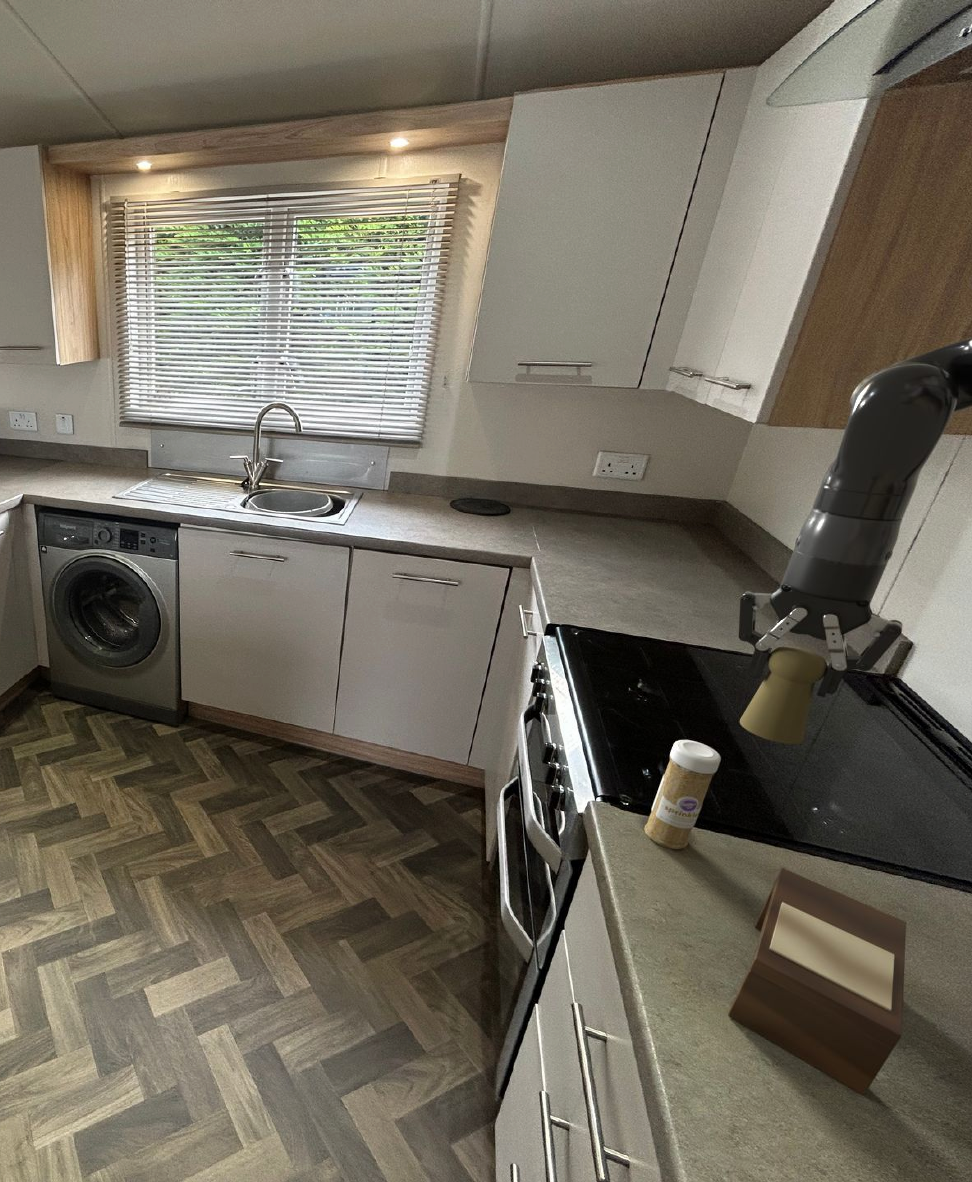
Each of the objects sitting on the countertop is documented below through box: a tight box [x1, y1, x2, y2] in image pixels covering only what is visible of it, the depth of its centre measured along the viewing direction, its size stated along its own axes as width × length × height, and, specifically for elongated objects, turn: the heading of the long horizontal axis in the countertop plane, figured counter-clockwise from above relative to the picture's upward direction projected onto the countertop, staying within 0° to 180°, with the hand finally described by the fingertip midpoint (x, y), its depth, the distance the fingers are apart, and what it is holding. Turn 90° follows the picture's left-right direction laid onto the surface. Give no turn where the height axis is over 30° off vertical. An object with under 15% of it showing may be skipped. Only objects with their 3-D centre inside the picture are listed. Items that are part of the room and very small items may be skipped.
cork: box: [739, 645, 828, 745], centre depth 77 cm, size 6×6×11 cm
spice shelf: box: [727, 867, 907, 1096], centre depth 59 cm, size 16×9×8 cm, turn 132°
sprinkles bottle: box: [644, 739, 722, 850], centre depth 78 cm, size 5×5×13 cm
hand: (788, 684), depth 77 cm, fingers closed on cork, 5 cm apart
